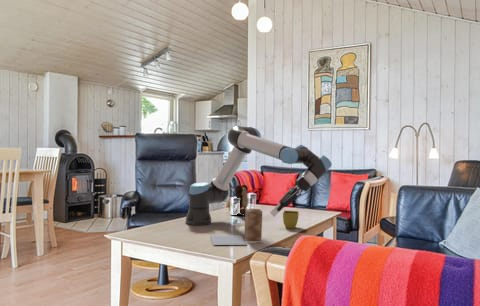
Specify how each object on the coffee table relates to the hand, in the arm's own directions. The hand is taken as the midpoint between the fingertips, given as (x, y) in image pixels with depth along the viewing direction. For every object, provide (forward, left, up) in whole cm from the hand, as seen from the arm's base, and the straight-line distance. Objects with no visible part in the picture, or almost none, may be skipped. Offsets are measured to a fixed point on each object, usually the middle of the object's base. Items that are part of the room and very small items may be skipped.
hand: (272, 214), depth 187 cm
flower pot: (+19, +31, -13) cm, 39 cm away
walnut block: (-9, 0, -13) cm, 16 cm away
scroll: (-3, +72, -13) cm, 74 cm away
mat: (-21, 0, -13) cm, 25 cm away
